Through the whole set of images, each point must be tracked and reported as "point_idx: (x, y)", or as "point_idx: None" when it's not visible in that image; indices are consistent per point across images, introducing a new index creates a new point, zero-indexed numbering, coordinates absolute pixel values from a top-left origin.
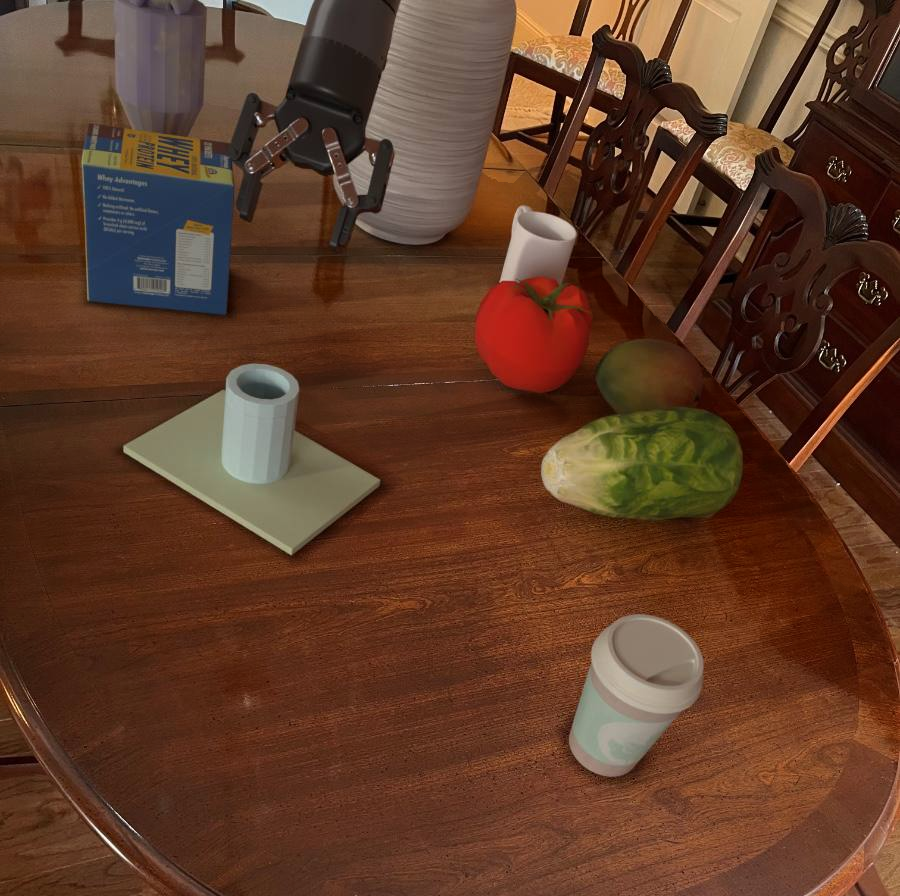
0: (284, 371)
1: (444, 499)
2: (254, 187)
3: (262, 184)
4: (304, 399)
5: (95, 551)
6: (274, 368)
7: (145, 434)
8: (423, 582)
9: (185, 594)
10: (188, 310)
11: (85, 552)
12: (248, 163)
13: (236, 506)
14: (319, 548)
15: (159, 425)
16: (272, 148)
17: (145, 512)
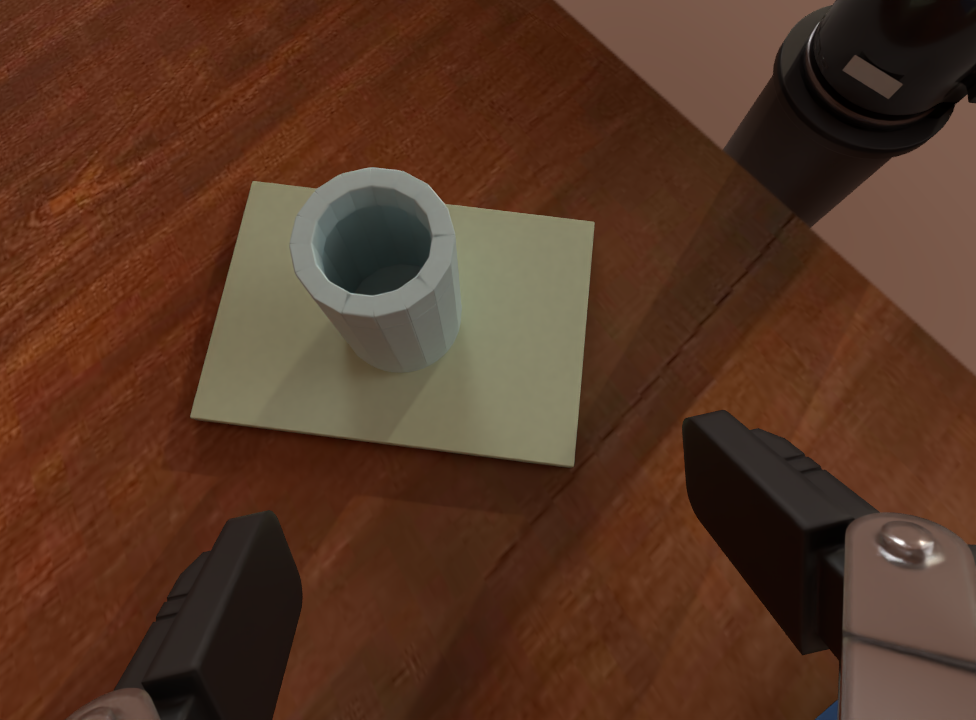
0: (358, 312)
1: (71, 467)
2: (764, 488)
3: (799, 648)
4: (441, 575)
5: (483, 57)
6: (382, 305)
7: (588, 264)
8: (52, 254)
9: (345, 59)
10: (832, 704)
11: (491, 50)
12: (941, 544)
13: None
14: (227, 225)
15: (587, 297)
16: (923, 689)
17: (479, 145)
